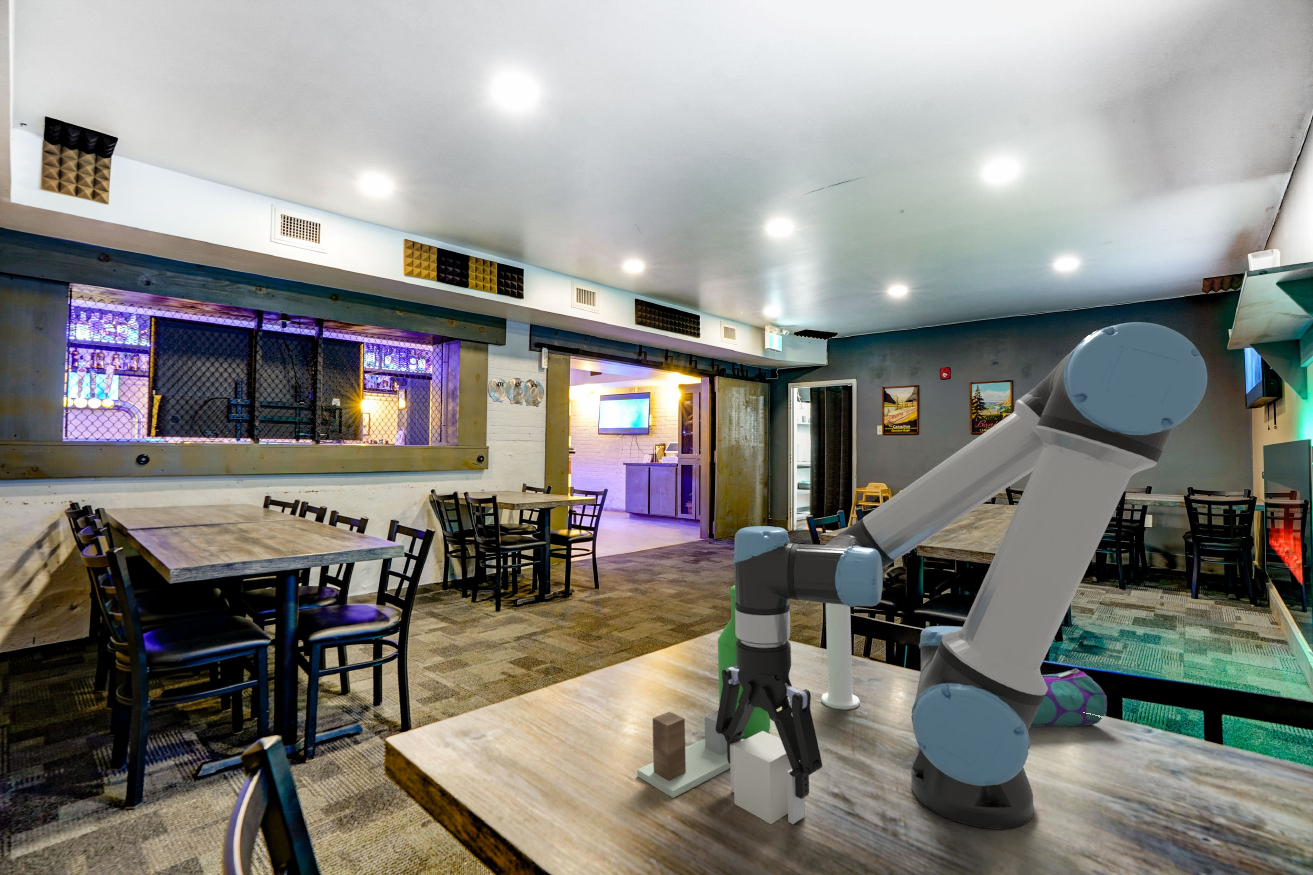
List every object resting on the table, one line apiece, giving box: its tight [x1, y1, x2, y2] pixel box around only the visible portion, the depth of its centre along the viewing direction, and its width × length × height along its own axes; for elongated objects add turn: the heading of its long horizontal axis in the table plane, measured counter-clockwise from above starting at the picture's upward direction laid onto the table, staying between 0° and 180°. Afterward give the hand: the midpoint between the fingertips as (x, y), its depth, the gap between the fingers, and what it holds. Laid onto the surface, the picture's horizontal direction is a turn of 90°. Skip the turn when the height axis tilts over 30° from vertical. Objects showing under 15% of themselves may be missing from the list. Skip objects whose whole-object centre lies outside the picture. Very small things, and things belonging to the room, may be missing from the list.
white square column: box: [733, 731, 800, 825], centre depth 85 cm, size 6×6×8 cm
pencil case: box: [1030, 668, 1108, 728], centre depth 107 cm, size 21×9×10 cm, turn 95°
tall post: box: [652, 711, 686, 781], centre depth 92 cm, size 3×3×8 cm
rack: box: [636, 710, 730, 799], centre depth 95 cm, size 8×17×6 cm, turn 131°
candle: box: [820, 603, 860, 711], centre depth 118 cm, size 7×7×25 cm
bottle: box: [717, 584, 771, 740], centre depth 107 cm, size 9×9×25 cm
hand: (766, 802), depth 84 cm, fingers open, 9 cm apart
